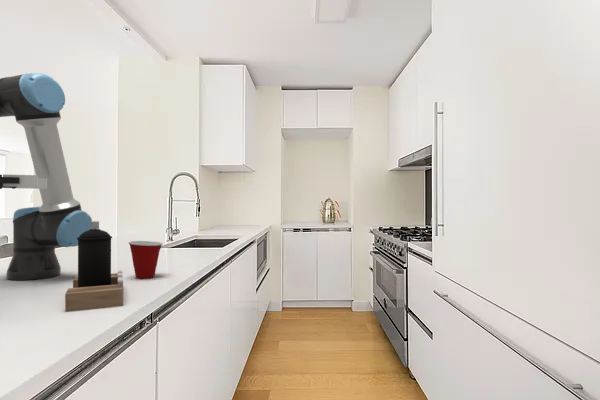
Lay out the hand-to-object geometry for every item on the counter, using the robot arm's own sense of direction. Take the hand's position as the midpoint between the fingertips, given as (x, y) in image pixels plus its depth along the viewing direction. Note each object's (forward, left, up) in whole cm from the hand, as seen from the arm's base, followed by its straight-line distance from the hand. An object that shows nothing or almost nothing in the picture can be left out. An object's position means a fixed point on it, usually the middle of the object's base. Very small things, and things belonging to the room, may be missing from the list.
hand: (42, 182), depth 98 cm
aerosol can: (0, +12, -30) cm, 32 cm away
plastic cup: (-24, +26, -30) cm, 46 cm away
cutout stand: (0, +12, -30) cm, 32 cm away
